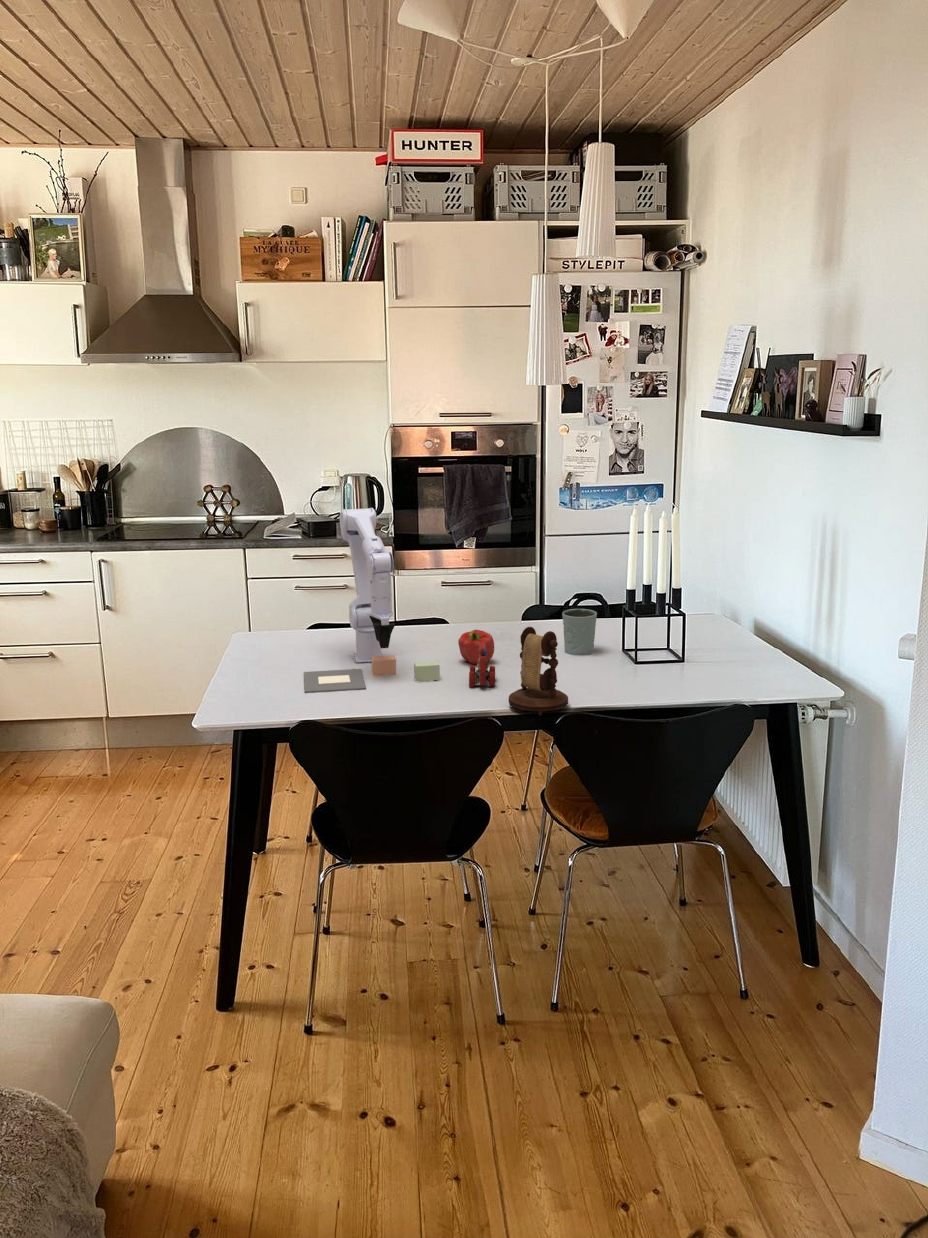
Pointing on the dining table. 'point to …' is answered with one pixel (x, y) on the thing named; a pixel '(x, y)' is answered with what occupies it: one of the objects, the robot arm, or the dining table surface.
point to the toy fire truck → (482, 670)
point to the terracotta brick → (383, 665)
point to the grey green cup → (579, 631)
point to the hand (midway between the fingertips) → (382, 644)
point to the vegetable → (475, 645)
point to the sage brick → (426, 670)
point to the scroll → (538, 674)
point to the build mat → (334, 680)
